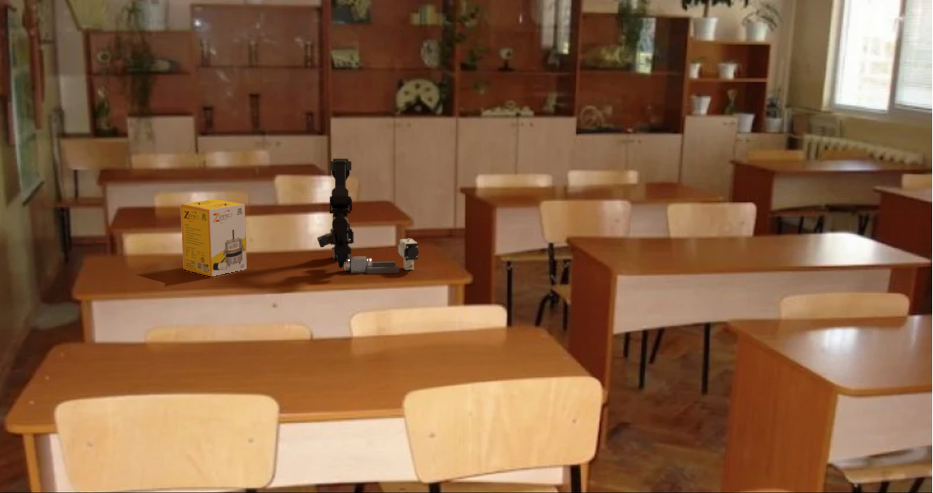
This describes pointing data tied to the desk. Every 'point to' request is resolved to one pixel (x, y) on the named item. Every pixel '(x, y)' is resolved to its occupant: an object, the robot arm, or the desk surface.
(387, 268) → the guide channel
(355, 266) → the coupling
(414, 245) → the pneumatic valve
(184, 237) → the packaging box
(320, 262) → the desk surface
